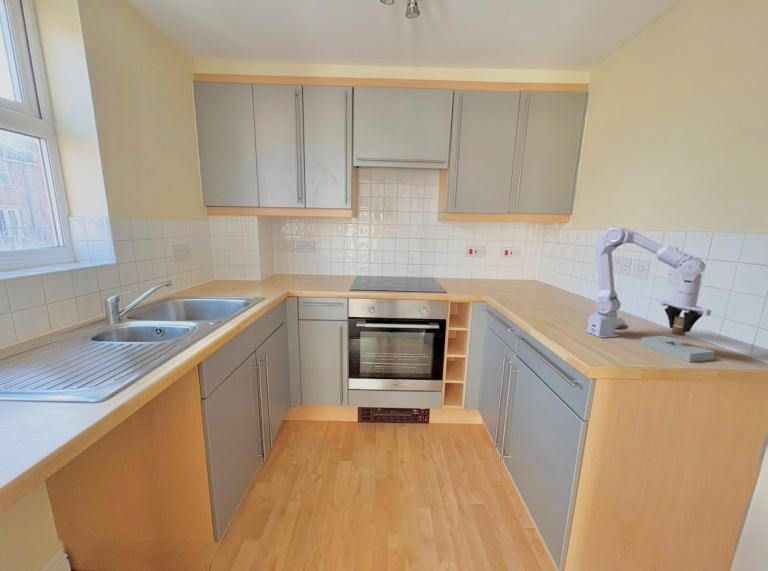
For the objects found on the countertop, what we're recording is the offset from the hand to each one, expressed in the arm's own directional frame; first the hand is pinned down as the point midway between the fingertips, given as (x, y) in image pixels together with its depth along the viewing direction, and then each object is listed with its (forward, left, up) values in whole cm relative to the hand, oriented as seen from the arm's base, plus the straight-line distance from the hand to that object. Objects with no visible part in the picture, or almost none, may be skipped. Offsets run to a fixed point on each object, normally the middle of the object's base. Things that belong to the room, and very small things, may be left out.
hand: (679, 329), depth 113 cm
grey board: (0, 0, -8) cm, 8 cm away
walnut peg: (0, 0, -2) cm, 2 cm away
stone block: (+6, +31, -9) cm, 32 cm away
